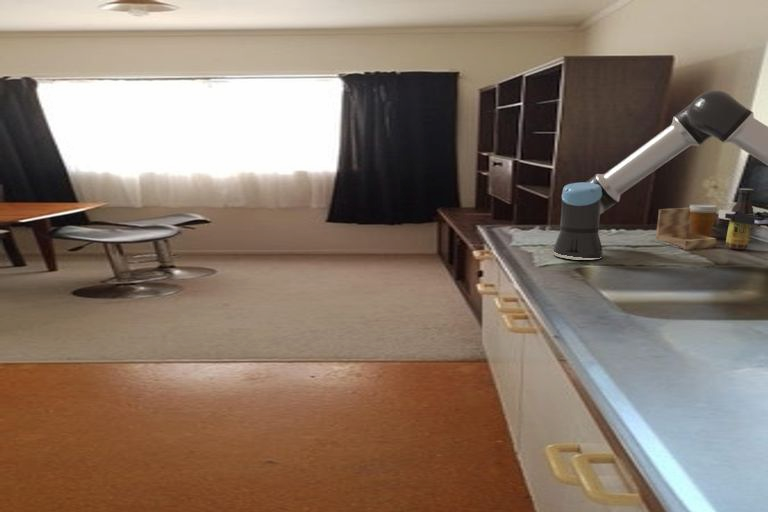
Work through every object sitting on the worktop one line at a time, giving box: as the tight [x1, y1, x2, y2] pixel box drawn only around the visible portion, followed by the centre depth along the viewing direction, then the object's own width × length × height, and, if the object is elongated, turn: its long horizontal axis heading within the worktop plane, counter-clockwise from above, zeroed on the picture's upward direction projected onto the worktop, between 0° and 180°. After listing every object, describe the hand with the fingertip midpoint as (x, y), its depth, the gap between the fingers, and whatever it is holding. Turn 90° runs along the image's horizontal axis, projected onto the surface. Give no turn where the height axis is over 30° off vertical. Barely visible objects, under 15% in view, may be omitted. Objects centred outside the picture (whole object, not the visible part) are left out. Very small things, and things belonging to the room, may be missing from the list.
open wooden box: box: [655, 207, 717, 250], centre depth 174 cm, size 13×13×12 cm
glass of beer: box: [688, 203, 719, 237], centre depth 186 cm, size 10×10×12 cm
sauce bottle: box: [725, 188, 755, 250], centre depth 163 cm, size 6×6×20 cm
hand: (728, 213), depth 168 cm, fingers closed on sauce bottle, 6 cm apart
